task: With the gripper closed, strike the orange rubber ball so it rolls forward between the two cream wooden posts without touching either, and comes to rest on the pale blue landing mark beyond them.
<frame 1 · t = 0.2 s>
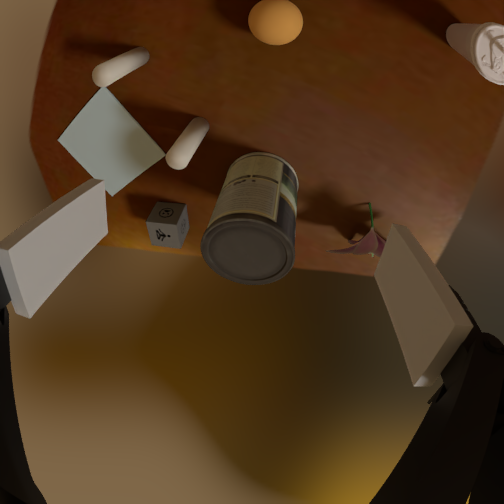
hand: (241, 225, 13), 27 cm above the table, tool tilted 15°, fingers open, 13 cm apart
dice cube: (173, 213, 51), on the table
ball: (275, 21, 25), on the table
lily: (367, 223, 46), on the table
coffee can: (262, 181, 44), on the table
post 2: (199, 125, 38), on the table
landing mark: (107, 145, 42), on the table
post 1: (140, 56, 31), on the table
smoothie: (458, 37, 23), on the table
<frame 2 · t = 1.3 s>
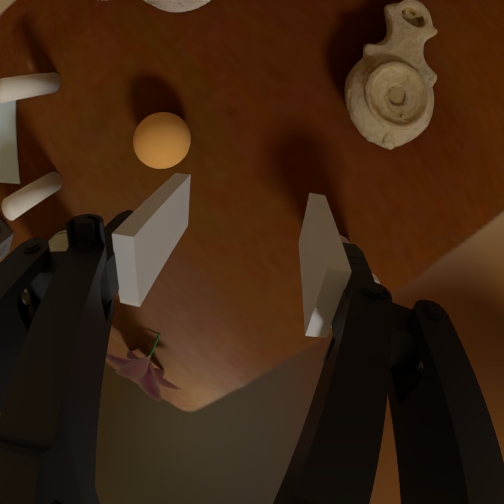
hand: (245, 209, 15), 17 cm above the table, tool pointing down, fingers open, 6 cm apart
dice cube: (2, 232, 38), on the table
ball: (161, 140, 27), on the table
lily: (151, 347, 46), on the table
coffee can: (77, 261, 39), on the table
post 2: (54, 181, 33), on the table
post 1: (52, 82, 27), on the table
oil lamp: (384, 73, 25), on the table
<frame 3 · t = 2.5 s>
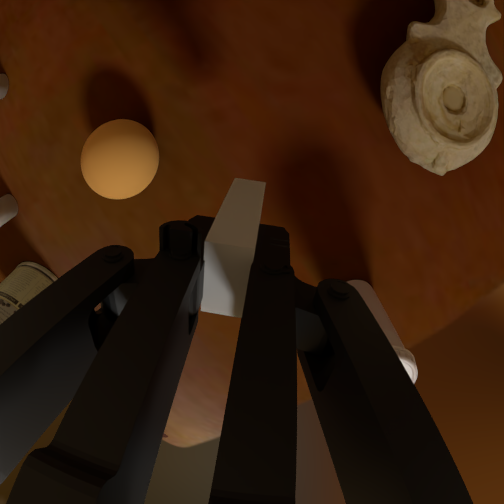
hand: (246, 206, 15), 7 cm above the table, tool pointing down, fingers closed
ball: (119, 158, 19), on the table
coffee can: (45, 295, 31), on the table
post 2: (10, 205, 25), on the table
post 1: (1, 86, 19), on the table
smoothie: (353, 295, 26), on the table
oil lamp: (429, 65, 16), on the table
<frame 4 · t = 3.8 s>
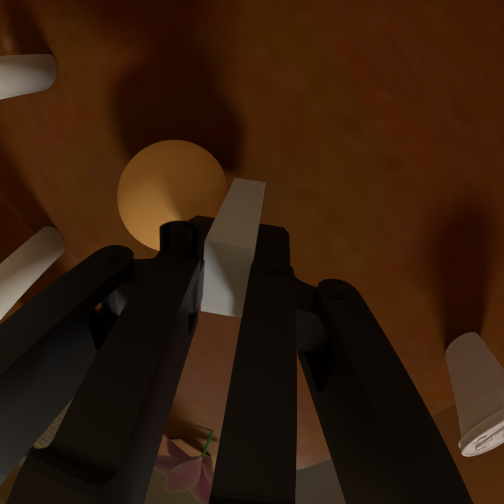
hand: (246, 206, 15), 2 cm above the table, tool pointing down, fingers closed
ball: (172, 195, 15), on the table
lily: (198, 438, 34), on the table
coffee can: (96, 349, 27), on the table
post 2: (52, 241, 20), on the table
post 1: (43, 72, 14), on the table
smoothie: (461, 345, 22), on the table
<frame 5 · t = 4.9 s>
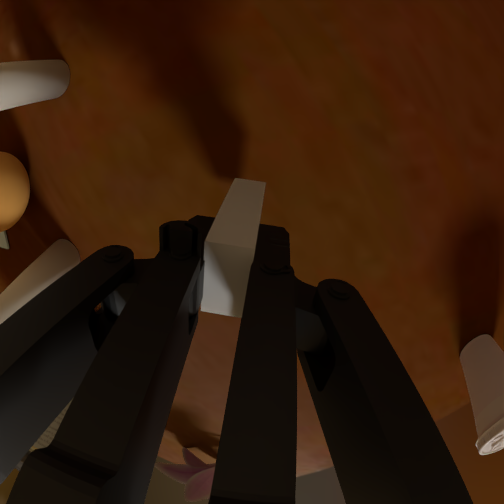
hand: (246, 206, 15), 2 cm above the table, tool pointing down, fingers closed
lily: (214, 446, 34), on the table
coffee can: (112, 361, 26), on the table
post 2: (66, 254, 20), on the table
post 1: (54, 79, 14), on the table
smoothie: (475, 347, 22), on the table
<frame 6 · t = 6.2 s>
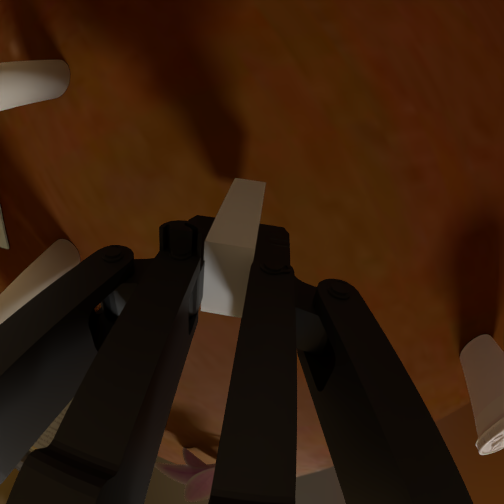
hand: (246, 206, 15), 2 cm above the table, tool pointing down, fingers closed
lily: (214, 446, 34), on the table
coffee can: (112, 361, 26), on the table
post 2: (66, 254, 20), on the table
post 1: (54, 79, 14), on the table
smoothie: (475, 347, 22), on the table
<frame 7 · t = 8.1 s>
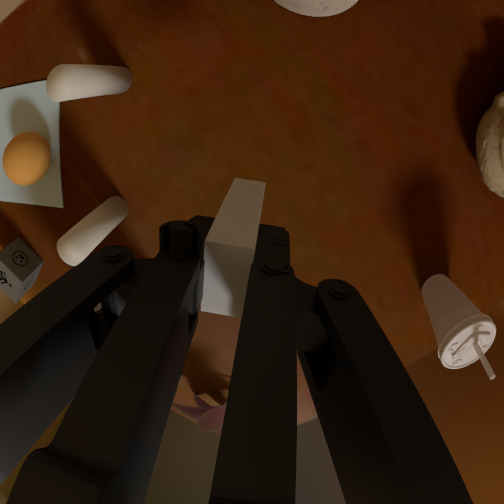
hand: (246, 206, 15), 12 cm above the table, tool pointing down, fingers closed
dice cube: (27, 259, 34), on the table
ball: (26, 158, 24), on the table
lily: (221, 390, 42), on the table
post 2: (117, 207, 29), on the table
landing mark: (16, 145, 26), on the table
post 1: (119, 80, 23), on the table
smoothie: (434, 286, 31), on the table
oil lamp: (496, 118, 21), on the table
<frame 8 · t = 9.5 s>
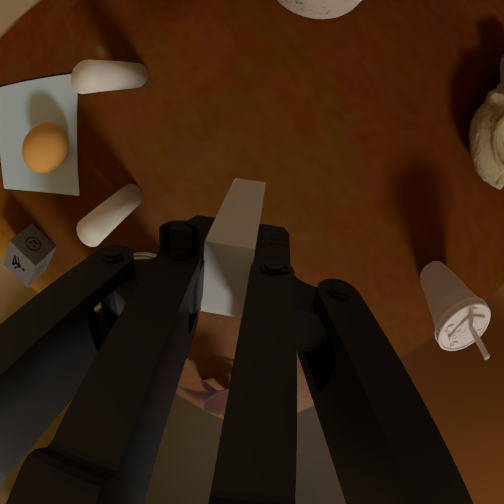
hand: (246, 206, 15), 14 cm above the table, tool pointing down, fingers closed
dice cube: (40, 245, 36), on the table
ball: (45, 147, 26), on the table
lily: (228, 375, 45), on the table
post 2: (131, 195, 31), on the table
landing mark: (33, 136, 28), on the table
post 1: (136, 75, 25), on the table
smoothie: (432, 273, 33), on the table
oil lamp: (490, 114, 23), on the table
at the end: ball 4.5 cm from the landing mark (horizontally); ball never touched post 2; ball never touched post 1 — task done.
